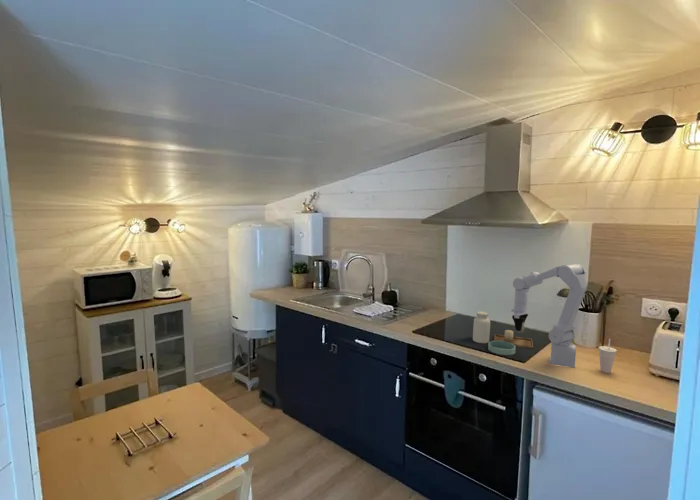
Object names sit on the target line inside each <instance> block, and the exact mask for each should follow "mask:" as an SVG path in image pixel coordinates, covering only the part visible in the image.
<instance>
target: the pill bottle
mask: <svg viewBox="0 0 700 500" xmlns="http://www.w3.org/2000/svg"><path fill="white" fill-rule="evenodd" d="M472 328H473V329H472V341H474V342H475V343H478V344H487V343H489V342H490V335H491V334H490V332H491V320H490V318H489V313H488V312H486V311H482V310H481V311H477V312H476V317H474V319H473V327H472Z"/></svg>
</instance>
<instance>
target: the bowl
mask: <svg viewBox="0 0 700 500" xmlns="http://www.w3.org/2000/svg"><path fill="white" fill-rule="evenodd" d="M516 349H517V348H516V346H515V345H513V344H512V343H509V342H505V341H494V340H492V341H489V342H488V345H487V350H488V351H489V352H491V353H493V354H495V355H502V356H512V355H514V354H516Z"/></svg>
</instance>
